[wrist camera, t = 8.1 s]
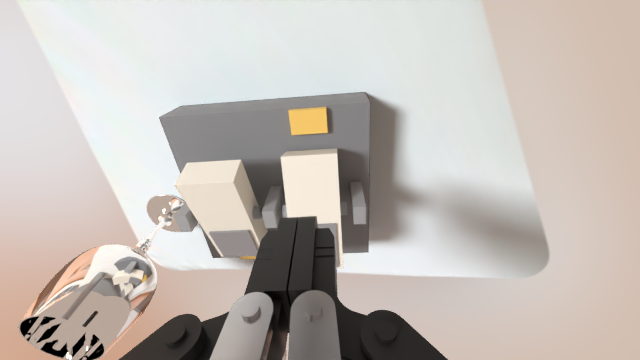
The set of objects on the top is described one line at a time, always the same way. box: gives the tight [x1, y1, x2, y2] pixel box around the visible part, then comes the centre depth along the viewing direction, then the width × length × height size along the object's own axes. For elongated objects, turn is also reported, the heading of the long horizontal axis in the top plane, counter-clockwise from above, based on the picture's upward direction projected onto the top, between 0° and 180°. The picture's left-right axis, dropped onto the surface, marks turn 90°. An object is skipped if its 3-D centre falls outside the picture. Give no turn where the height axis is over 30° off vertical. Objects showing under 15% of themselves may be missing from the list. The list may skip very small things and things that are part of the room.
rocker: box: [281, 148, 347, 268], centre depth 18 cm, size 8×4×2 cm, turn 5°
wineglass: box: [18, 194, 185, 360], centre depth 21 cm, size 6×6×12 cm
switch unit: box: [159, 92, 370, 259], centre depth 21 cm, size 13×14×6 cm
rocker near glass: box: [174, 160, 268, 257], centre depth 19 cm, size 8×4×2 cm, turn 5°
